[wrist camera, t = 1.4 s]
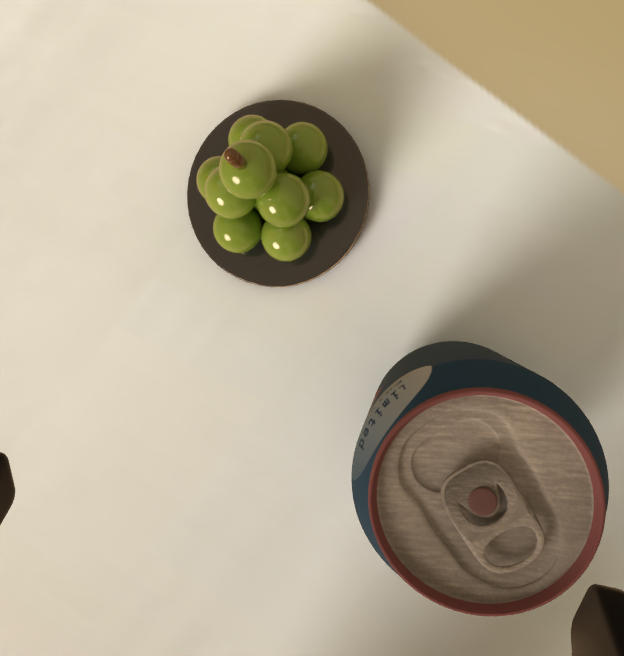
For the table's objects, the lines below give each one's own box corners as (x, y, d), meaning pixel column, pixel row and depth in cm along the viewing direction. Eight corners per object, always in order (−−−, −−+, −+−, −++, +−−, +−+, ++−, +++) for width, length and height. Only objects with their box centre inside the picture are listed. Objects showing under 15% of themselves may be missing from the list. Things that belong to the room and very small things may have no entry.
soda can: (344, 390, 27) (293, 453, 16) (476, 310, 26) (531, 310, 14) (425, 522, 27) (437, 689, 15) (564, 445, 26) (693, 559, 14)
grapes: (288, 324, 28) (242, 329, 20) (157, 209, 29) (66, 173, 21) (408, 181, 27) (407, 131, 19) (268, 66, 28) (214, -25, 20)
